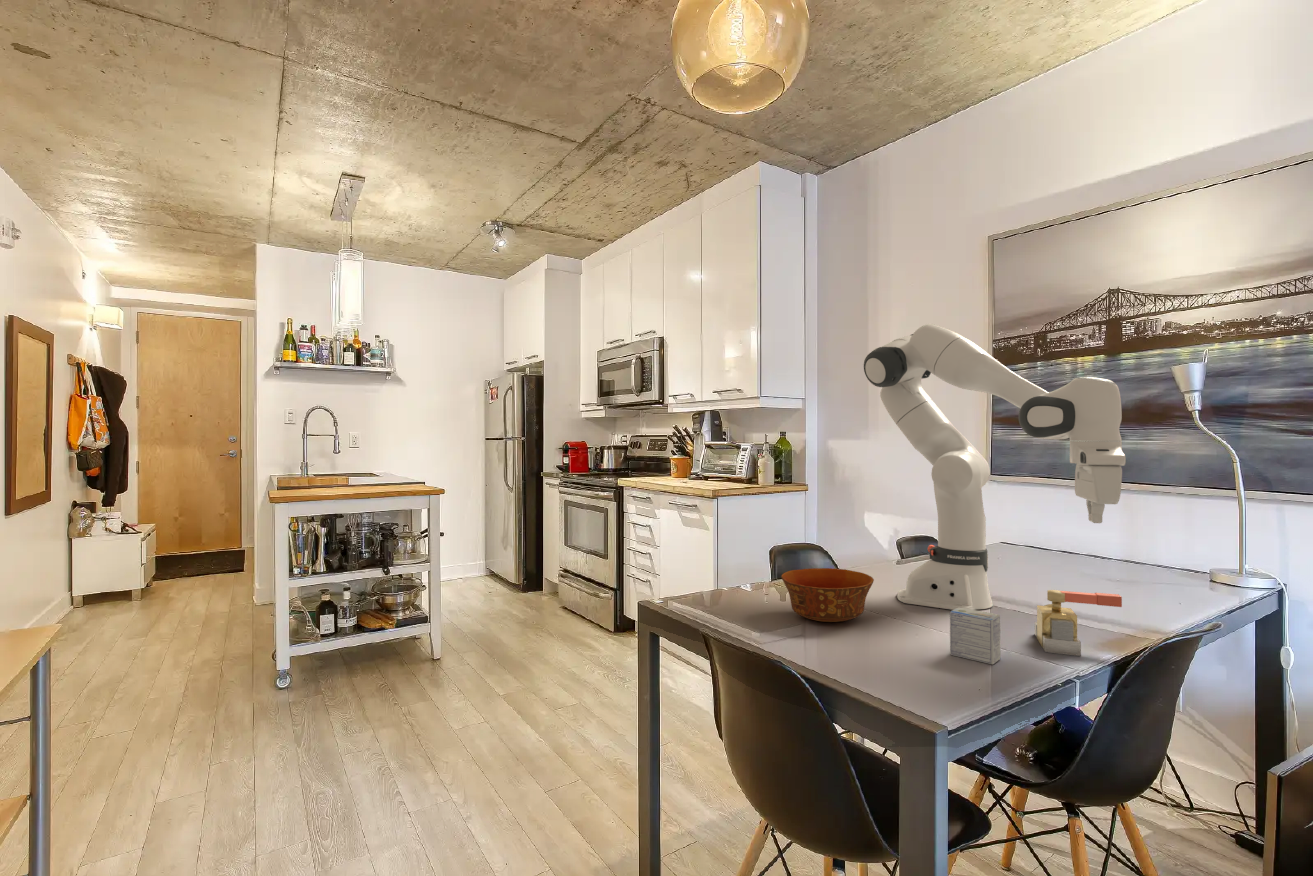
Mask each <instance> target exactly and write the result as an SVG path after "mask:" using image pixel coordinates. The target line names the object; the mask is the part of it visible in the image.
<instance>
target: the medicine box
mask: <svg viewBox="0 0 1313 876" xmlns="http://www.w3.org/2000/svg"><path fill="white" fill-rule="evenodd" d="M949 650H950V651H949V654H950V655H951V656H954V657H958V658H961V659H962V658H963V659H967V660H972V661H977V662H979V663H985V664H988V665H994V664H996V663H997V662H999V660H1001V656H1002V655H1001V615H999V614H997V613H992V612H987V611H981V610H977V609H976V610H971V609H965V608H956V609H954V610H951V611H950V612H949Z"/></svg>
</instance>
